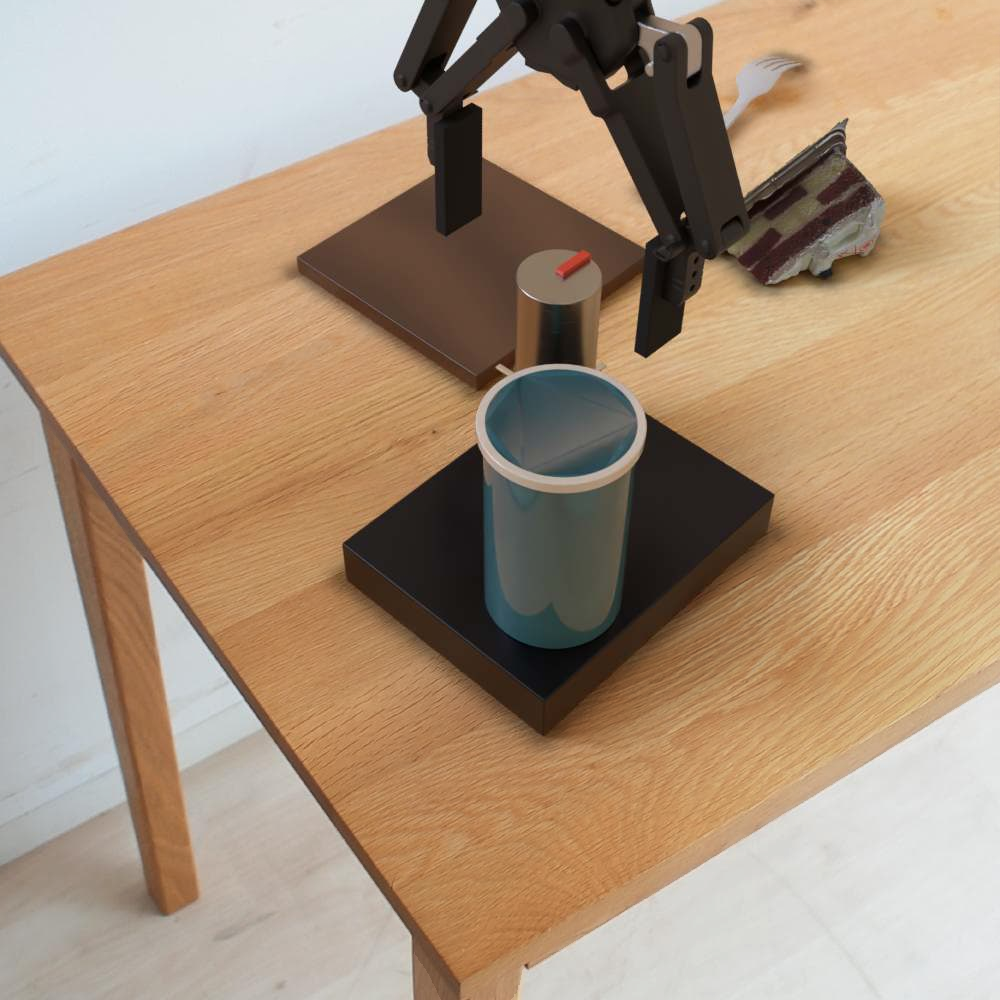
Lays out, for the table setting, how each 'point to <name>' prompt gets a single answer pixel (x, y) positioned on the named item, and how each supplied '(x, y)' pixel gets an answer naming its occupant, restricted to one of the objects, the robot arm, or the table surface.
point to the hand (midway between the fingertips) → (554, 280)
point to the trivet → (459, 268)
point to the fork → (756, 82)
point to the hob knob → (557, 309)
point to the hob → (647, 581)
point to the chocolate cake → (810, 214)
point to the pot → (557, 500)
